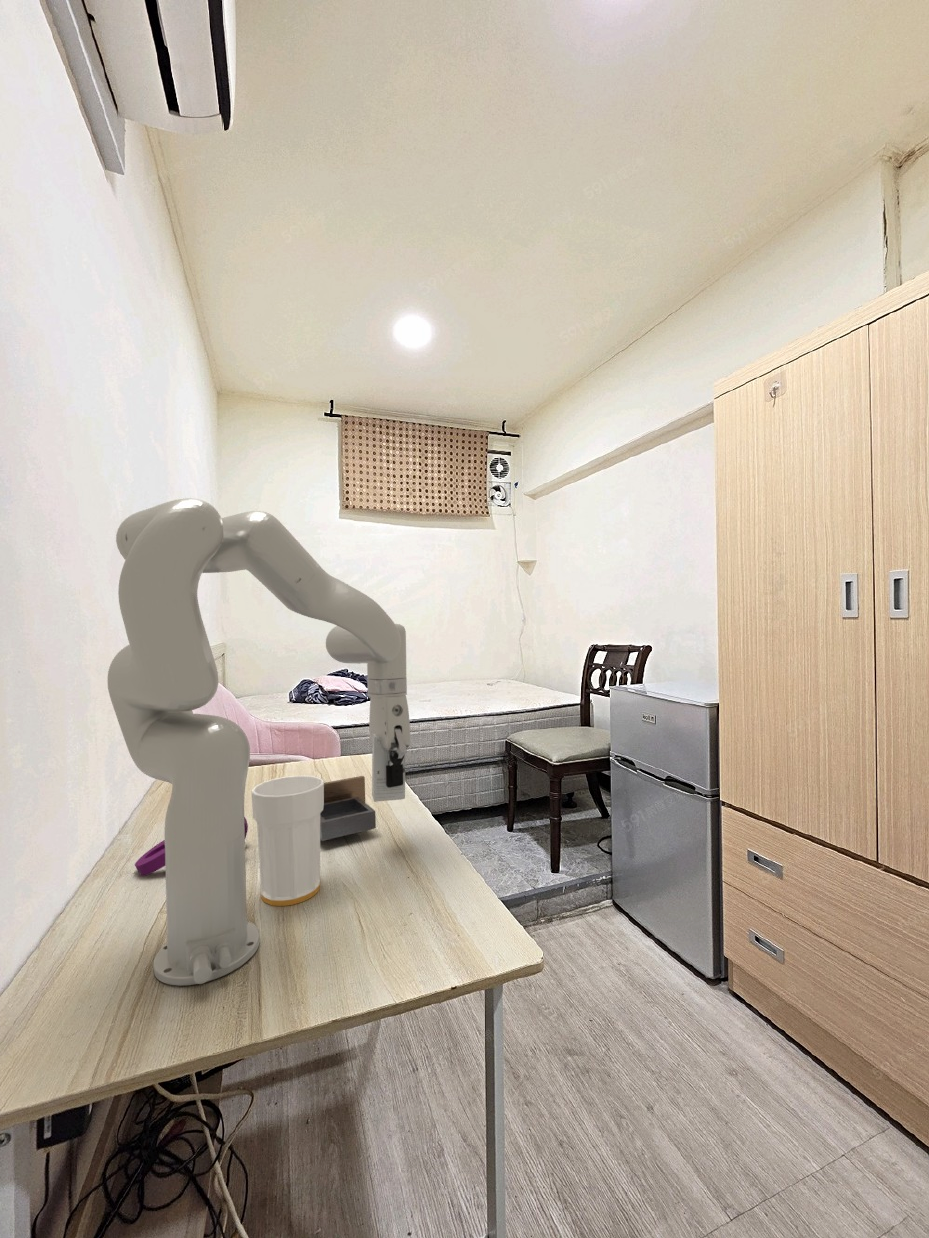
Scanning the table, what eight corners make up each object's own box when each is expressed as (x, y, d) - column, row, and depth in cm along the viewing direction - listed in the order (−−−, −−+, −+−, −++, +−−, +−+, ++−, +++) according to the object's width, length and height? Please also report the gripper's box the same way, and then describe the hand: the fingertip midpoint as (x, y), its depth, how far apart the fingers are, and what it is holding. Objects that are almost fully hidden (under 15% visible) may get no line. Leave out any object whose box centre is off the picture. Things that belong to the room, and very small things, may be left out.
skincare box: (373, 802, 96) (373, 737, 96) (371, 795, 100) (370, 733, 100) (406, 799, 97) (405, 735, 98) (403, 792, 102) (402, 730, 102)
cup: (340, 888, 85) (337, 782, 85) (275, 918, 76) (272, 801, 77) (304, 868, 92) (302, 771, 93) (242, 893, 84) (239, 787, 84)
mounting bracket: (153, 913, 90) (251, 853, 95) (127, 874, 89) (229, 815, 94) (165, 888, 99) (255, 834, 104) (143, 852, 98) (234, 799, 103)
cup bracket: (387, 834, 106) (386, 791, 107) (309, 854, 98) (307, 807, 98) (364, 814, 119) (362, 775, 119) (292, 830, 110) (291, 788, 111)
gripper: (424, 689, 94) (426, 789, 93) (388, 683, 109) (389, 770, 108) (385, 692, 90) (387, 797, 89) (354, 685, 105) (355, 775, 104)
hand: (388, 781), depth 99 cm, fingers closed on skincare box, 5 cm apart
